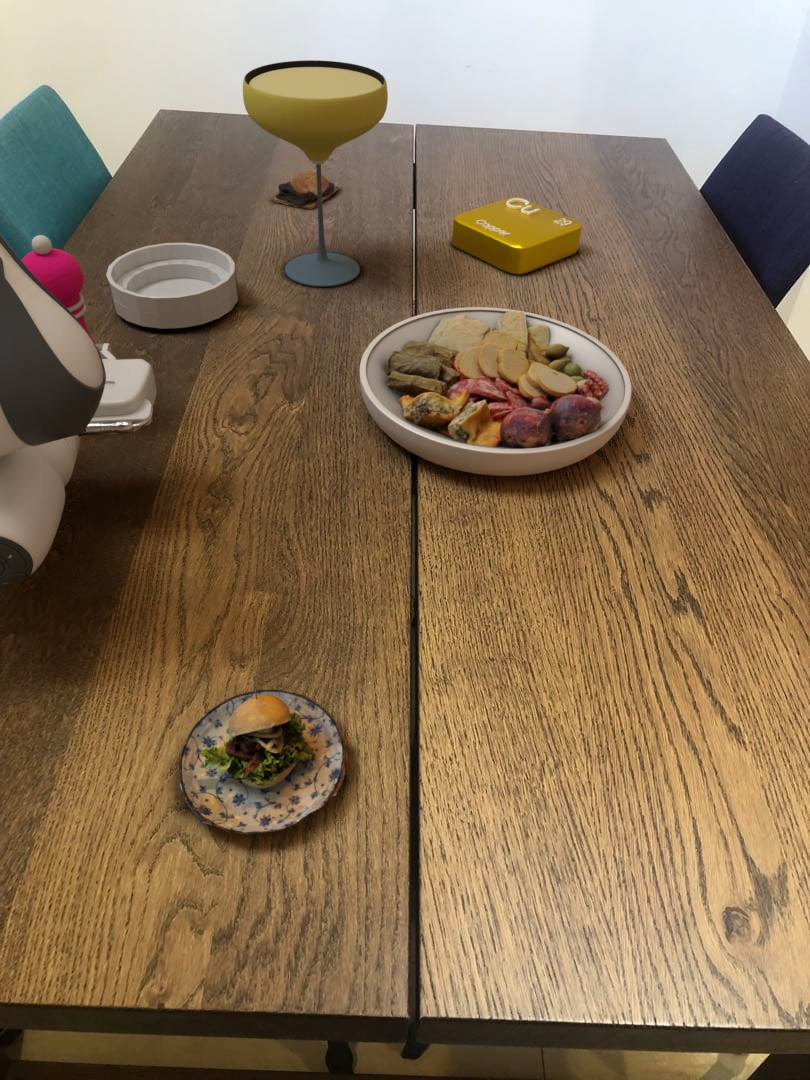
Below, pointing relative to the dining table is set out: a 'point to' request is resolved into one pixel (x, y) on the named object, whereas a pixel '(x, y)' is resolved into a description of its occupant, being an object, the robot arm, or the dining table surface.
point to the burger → (262, 762)
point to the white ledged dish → (173, 285)
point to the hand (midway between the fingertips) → (53, 351)
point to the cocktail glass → (316, 132)
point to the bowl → (494, 390)
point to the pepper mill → (58, 275)
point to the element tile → (516, 235)
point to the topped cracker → (304, 190)
